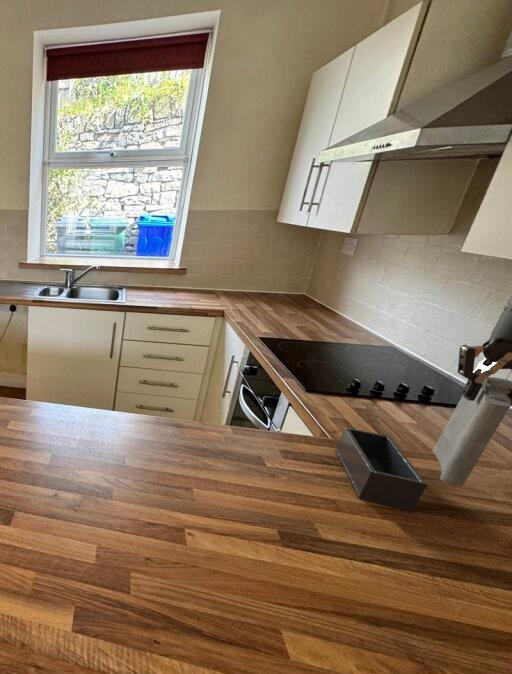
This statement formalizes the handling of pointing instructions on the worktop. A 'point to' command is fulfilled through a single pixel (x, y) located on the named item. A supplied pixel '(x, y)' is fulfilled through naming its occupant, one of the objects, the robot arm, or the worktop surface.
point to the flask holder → (379, 469)
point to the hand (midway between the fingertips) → (486, 401)
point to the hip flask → (471, 430)
